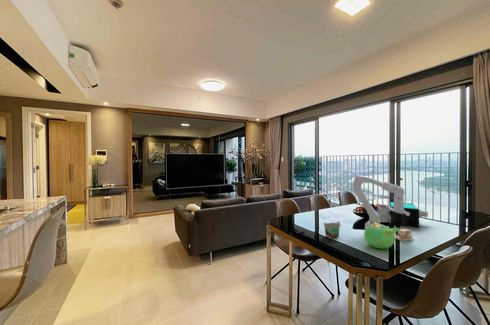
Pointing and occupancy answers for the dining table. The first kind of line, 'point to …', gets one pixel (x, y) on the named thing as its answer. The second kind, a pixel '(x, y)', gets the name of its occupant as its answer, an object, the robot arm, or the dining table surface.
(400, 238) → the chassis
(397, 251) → the dining table surface
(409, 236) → the birch block
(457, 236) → the dining table surface
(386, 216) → the ink cartridge box
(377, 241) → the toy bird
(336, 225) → the food container
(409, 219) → the electronic device
